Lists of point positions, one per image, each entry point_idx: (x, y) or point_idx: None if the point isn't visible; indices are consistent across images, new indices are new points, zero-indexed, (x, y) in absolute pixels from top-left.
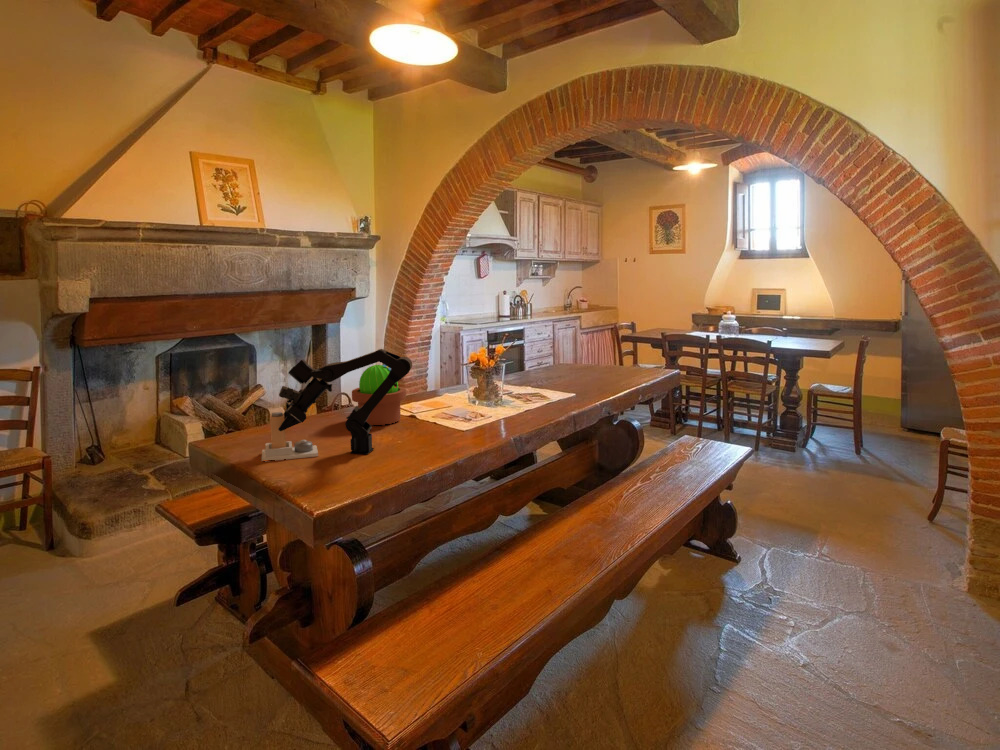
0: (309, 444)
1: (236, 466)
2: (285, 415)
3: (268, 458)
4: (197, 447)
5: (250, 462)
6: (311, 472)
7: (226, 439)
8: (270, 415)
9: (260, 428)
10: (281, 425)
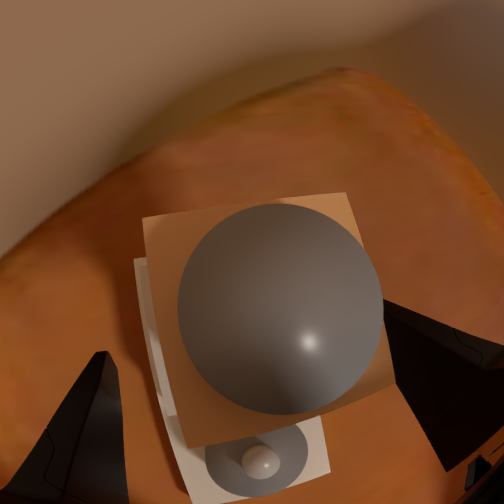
0: (228, 491)
1: (104, 177)
2: (430, 361)
3: (138, 291)
4: (340, 67)
5: (141, 216)
6: (7, 459)
7: (414, 122)
8: (299, 202)
9: (496, 198)
10: (70, 392)
